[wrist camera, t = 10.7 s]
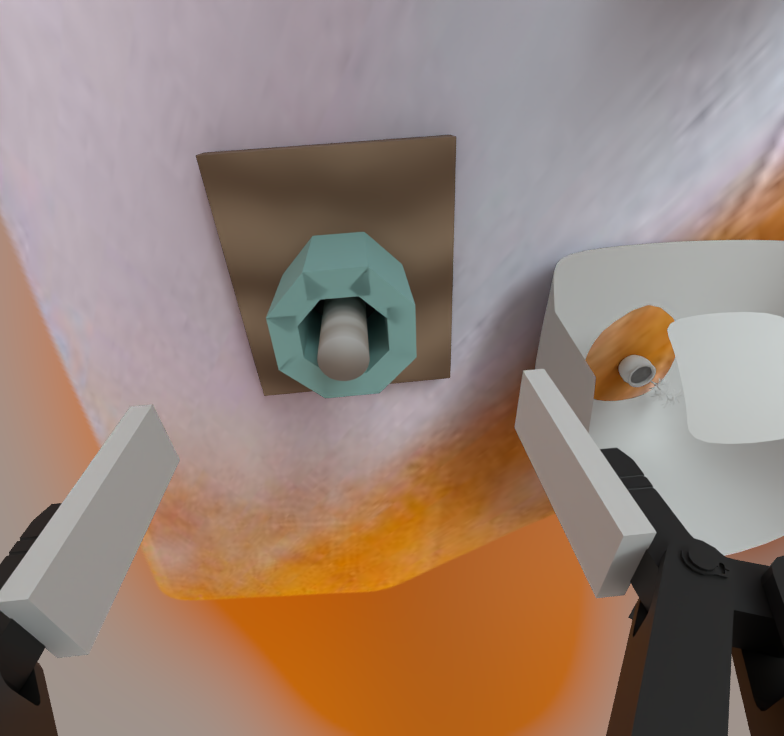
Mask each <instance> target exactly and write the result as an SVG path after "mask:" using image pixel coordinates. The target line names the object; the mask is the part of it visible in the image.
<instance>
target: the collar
mask: <svg viewBox="0 0 784 736" xmlns="http://www.w3.org/2000/svg"><path fill="white" fill-rule="evenodd" d="M356 296H359V297H360V298H361V299H363V300H364V301H365V302H367V303H368V304H369V305H371V306H372V307H373V308H374V309H376V310H375V311H374V312H373V313H372V314H371V315H370V316H369V317H368V318H367V331H368V344H369V357H370V361H369V365H368V368H367V370H366V371H365V372H364V373H363V374H362V375H361V376H360V377H358V378H356V379H353V380H350V381H338V380H334V379H331V378H329V377H328V376H326V375H325V374H324V373H323V372H322V371H321V369H320V368H319V366H318V362H317V355H318V347H319V340H320V332H321V324H322V316H323V315H321V314H320V313H318V312H317V311H316V310H314V309H313V307H314V306H315V305H316V304H317V303H318V301H319V300H321V299H332V298H344V297H356ZM266 320H267V324H268V328H269V332H270V336H271V340H272V344H273V349H274V353H275V357H276V361H277V365H278V369H279V370H280V371H281V372H283V373H285V374H286V375H288V376H290V377H291V378H293V379H294V380H296V381H298V382H299V383H301V384H303V385H304V386H306V387H308V388H309V389H311V390H313V391H314V392H316V393H317V394H319V395H321V396H322V397H324V398H334V397H345V396H355V395H366V394H376V393H380V392H381V391H382V390H383V389H384V388H385V387H386V386H387V385H388V384H390V383H391V382H392V381H393V380H394V379H395V378H396V377H397V376H398V375H399V374H400V373H401V372H402V371H403V370H404V369H405V368H406V367H407V366H408V365H409V364H410V363H411V362H412V361H413V360H414V359H415V358H416V357H417V353H416V314H415V302H414V299H413V296H412V293H411V290H410V287H409V284H408V281H407V278H406V274H405V271H404V268H403V265H402V264H401V263H400V262H399V261H398V260H397V259H396V258H394V257H393V256H392V255H391V254H390V253H389V252H387V251H386V250H385V249H384V248H383V247H382V246H380V245H379V244H378V243H377V242H376V241H375V240H373V239H372V238H371V237H370V236H369V235H368V234H366V233H365V232H354V233H341V234H329V235H316V236H312V237H311V239H310V240H309V241H308V242H307V244H306V245H305V246H304V248H303V249H302V250H301V251H300V253H299V254H298V255H297V257H296V258H295V259H294V261H293V262H292V263H291V264H290V266H289V267H288V268H287V270H286V271H285V272H284V274H283V275H282V278H281V280H280V283H279V286H278V288H277V291H276V293H275V296H274V298H273V301H272V304H271V306H270V309H269V311H268V314H267V316H266Z"/></svg>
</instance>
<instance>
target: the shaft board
mask: <svg viewBox="0 0 784 736" xmlns="http://www.w3.org/2000/svg"><path fill="white" fill-rule="evenodd" d="M196 158H197V162H198V165H199V169H200V172H201V176H202V179H203V183H204V186H205V190H206V193H207V197H208V200H209V204H210V207H211V211H212V214H213V218H214V221H215V225H216V228H217V232H218V235H219V239H220V242H221V246H222V249H223V253H224V256H225V260H226V263H227V267H228V270H229V274H230V277H231V281H232V284H233V288H234V291H235V295H236V298H237V302H238V305H239V309H240V312H241V316H242V319H243V323H244V326H245V330H246V333H247V337H248V340H249V344H250V347H251V351H252V354H253V358H254V361H255V365H256V368H257V372H258V375H259V379H260V382H261V386H262V389H263V393H264V396H268V395H278V394H288V393H299V392H309V391H313V390H311V389H309V388H308V387H306V386H304V385H303V384H301V383H299V382H298V381H296V380H294V379H293V378H291V377H290V376H288V375H286V374H285V373H283V372H281V371H280V370H279V369H278V365H277V361H276V357H275V353H274V349H273V344H272V340H271V336H270V332H269V328H268V324H267V320H266V316H267V314H268V311H269V309H270V306H271V304H272V301H273V298H274V296H275V293H276V291H277V288H278V286H279V283H280V280H281V278H282V275H283V274H284V272H285V271H286V270H287V268H288V267H289V266H290V264H291V263H292V262H293V261H294V259H295V258H296V257H297V255H298V254H299V253H300V251H301V250H302V249H303V248H304V246H305V245H306V244H307V242H308V241H309V240H310V239H311V237H312V236H316V235H329V234H341V233H354V232H365V233H366V234H368V235H369V236H370V237H371V238H372V239H373V240H375V241H376V242H377V243H378V244H379V245H380V246H382V247H383V248H384V249H385V250H386V251H387V252H389V253H390V254H391V255H392V256H393V257H394V258H396V259H397V260H398V261H399V262H400V263H401V264H402V265H403V268H404V271H405V274H406V278H407V281H408V284H409V287H410V290H411V293H412V296H413V299H414V302H415V314H416V353H417V357H416V358H415V359H414V360H413V361H412V362H411V363H410V364H409V365H408V366H407V367H406V368H405V369H404V370H403V371H402V372H401V373H400V374H399V375H398V376H397V377H396V378H395V379H394V380H393V381H392V382H391V383H390V384H392V383H402V382H413V381H423V380H433V379H444V378H450V367H451V327H452V287H453V247H454V207H455V167H456V136H453V135H441V136H427V137H413V138H400V139H386V140H372V141H358V142H344V143H331V144H317V145H303V146H289V147H275V148H262V149H248V150H234V151H220V152H207V153H202V154H199V155H196ZM313 309H314V310H316V311H317V312H318V313H320V314H321V315H323V316H322V324H321V332H320V340H319V347H318V355H317V362H318V366H319V368H320V369H321V371H322V372H323V373H324V374H325V375H326V376H328V377H329V378H331V379H334V380H338V381H350V380H353V379H356V378H358V377H360V376H361V375H362V374H363V373H364V372H365V371H366V370H367V368H368V365H369V361H370V357H369V344H368V331H367V318H368V317H369V316H370V315H371V314H372V313H373V312H374V311H375V310H376V309H374V308H373V307H372V306H371V305H369V304H368V303H367V302H365V301H364V300H363V299H361V298H360V297H359V296H356V297H344V298H332V299H321V300H319V301H318V303H317V304H316V305H315V306H314V307H313Z"/></svg>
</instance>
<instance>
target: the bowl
mask: <svg viewBox="0 0 784 736" xmlns="http://www.w3.org/2000/svg"><path fill="white" fill-rule="evenodd" d="M646 305H652V306H656V307H660V308H662V309H663V310H665V311H666V312H667V313H668V314H669V315H671V316H672V317H673V319H674V320H675V322H673V323H671V324H670V326H669V327H668V329H667V330H668V336H669V339H670V341H671V344H672V347H673V350H674V353H675V356H676V357H675V360H674V362H673V364H672V366H671V368H670V370H669V371H668V373H667V374H666V376H665V377H664V379H663V380H662V381H661V382H660V378H659V383H658V385H656V384H657V383H654V382H652V381H651V380H652V379H653V378H654V376H655V374H656V369H655V367H654V366H653V365H652V364H651V362H650V361H649V360H647V359H646V358H644V357H642V356H639V355H631V356H628V357H626V358H625V359H623V360H622V361H621V363H620V364H619V373H620V375H621V377H622V378H623V380H624V381H625V382H627V383H629V385H631V386H633V387H641V386H644V385H646V384H647V383H649V382H650V381H651V382H652V383H654V385H655V387H653V388H649V389H652V390H651V391H649V392H647V393H645V394H643V395H641V396H638V397H635V398H631V399H627V400H620V401H601V400H596V399H593V398H594V389H595V380H596V377H595V375H594V374H593V372H592V370H591V369H590V367H589V366H588V364H587V362H586V361H585V359H586V356H587V354H588V352H589V350H590V348H591V346H592V345H593V343H594V341H595V340H596V339H597V337H598V336H599V335H600V334H601V333H602V331H603V330H605V329H606V328H607V327H609V326H610V325H611V324H612V323H613V322H615V321H616V320H618V319H619V318H621V317H623V316H624V315H626V314H627V313H629V312H630V311H632V310H634V309H637V308H640V307H643V306H646ZM535 369H545V371H546V372H547V374H548V375H549V377H550V378H551V380H552V381H553V382H554V384H555V385H556V387H557V388H558V390H559V391H560V393H561V394H562V396H563V397H564V398H565V400H566V401H567V403H568V404H569V406H570V407H571V409H572V410H573V411H574V413H575V414H576V416H577V417H578V419H579V420H580V422H581V423H582V425H583V426H584V427H585V429H586V430H587V432H588V433H589V435H590V436H591V438H592V439H593V441H594V442H595V443H596V445H597V446H598V448H599V449H606V448H618V449H620V450H621V451H622V452H624V453H625V454H626V455H628V456H629V457H630V458H632V459H633V460H634V461H635V463H636V464H637V465H638V467H639V468H640V469H641V471H642V472H643V473H644V476H645V477H647V478H648V480H649V481H650V482H651V484H652V485H653V488H654V489H656V490H657V492H658V493H659V494H660V496H661V497H662V498H663V500H664V501H665V502H666V503H667V505H668V506H669V507H670V509H671V510H672V511H673V513H674V514H675V515H676V517H677V518H678V519H679V521H680V522H681V523H682V525H683V526H684V527H685V528H686V530H687V531H688V532H689V533H690V535H691V536H692V537H693V538H695V539H698V540H702V541H704V542H706V543H707V544H709V545H711V546H713V547H715V548H716V549H717V550H718V551H719V552H720V553H722V554H723V555H724V556H725V555H729V554H733V553H737V552H741V551H744V550H747V549H750V548H753V547H756V546H759V545H762V544H765V543H768V542H770V541H772V540H775V539H777V538H780V537H782V536H784V241H775V240H712V241H685V242H665V243H650V244H637V245H626V246H616V247H608V248H600V249H593V250H587V251H582V252H578V253H574V254H570V255H568V256H566V257H564V258H562V259H561V260H560V261H559V262H558V263H557V264H556V267H555V270H554V274H553V279H552V284H551V289H550V293H549V298H548V303H547V308H546V312H545V317H544V321H543V326H542V331H541V336H540V341H539V347H538V352H537V358H536V365H535Z"/></svg>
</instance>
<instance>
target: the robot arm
mask: <svg viewBox="0 0 784 736" xmlns="http://www.w3.org/2000/svg"><path fill="white" fill-rule="evenodd" d="M515 430H516V432H517V434H518V436H519V438H520V440H521V442H522V444H523V446H524V448H525V451H526V453H527V455H528V457H529V459H530V461H531V463H532V465H533V467H534V469H535V471H536V473H537V476H538V478H539V480H540V482H541V484H542V486H543V488H544V490H545V492H546V494H547V496H548V499H549V501H550V503H551V505H552V507H553V509H554V511H555V513H556V515H557V517H558V519H559V521H560V524H561V526H562V528H563V530H564V532H565V534H566V536H567V538H568V540H569V542H570V544H571V546H572V549H573V550H574V553H575V555H576V557H577V558H578V561H579V563H580V565H581V567H582V569H583V572H584V574H585V576H586V578H587V580H588V582H589V584H590V586H591V588H592V590H593V592H594V594H595V596H596V598H603V597H610V596H611V597H612V596H620V595H625V593H626V591H627V589H628V587H629V586H630V584H632V586H633V588H634V589H635V591H636V593H637V594H638V596H639V599H638V601H637V603H636V605H635V606H634V608H633V610H632V612H631V614H630V615H629V618H631V619H632V625H631V629H630V634H629V638H628V642H627V646H626V651H625V655H624V660H623V664H622V668H621V673H620V677H619V681H618V686H617V690H616V695H615V699H614V703H613V708H612V712H611V717H610V721H609V725H608V730H607V734H606V736H728V718H729V697H730V675H731V654H732V657H733V662H734V666H735V670H736V674H737V679H738V683H739V687H740V691H741V695H742V700H743V704H744V708H745V713H746V717H747V721H748V726H749V730H750V734H751V736H784V556H781V557H777V558H776V559H775V560H774V562H773V563H772V564H771V565H770V566H766V565H761V564H755V563H750V562H745V561H739V560H734V559H731V558H727V557H725V556H724V555H723V554H722V553H720V552H719V551H718V550H717V549H716V548H715V547H713V546H711V545H709V544H707V543H706V542H704V541H702V540H698V539H695V538H693V537H692V536H691V535H690V533H689V532H688V531H687V530H686V528H685V527H684V526H683V525H682V523H681V522H680V521H679V519H678V518H677V517H676V515H675V514H674V513H673V511H672V510H671V509H670V507H669V506H668V505H667V503H666V502H665V501H664V500H663V498H662V497H661V496H660V494H659V493H658V492H657V490H656V489H654V488H653V485H652V484H651V482H650V481H649V480H648V478H647V477H645V476H644V473H643V472H642V471H641V469H640V468H639V467H638V465H637V464H636V463H635V461H634V460H633V459H632V458H630V457H629V456H628V455H626V454H625V453H624V452H622V451H621V450H620V449H618V448H606V449H599V448H598V446H597V445H596V443H595V442H594V441H593V439H592V438H591V436H590V435H589V433H588V432H587V430H586V429H585V427H584V426H583V425H582V423H581V422H580V420H579V419H578V417H577V416H576V414H575V413H574V411H573V410H572V409H571V407H570V406H569V404H568V403H567V401H566V400H565V398H564V397H563V396H562V394H561V393H560V391H559V390H558V388H557V387H556V385H555V384H554V382H553V381H552V380H551V378H550V377H549V375H548V374H547V372H546V371H545V369H535V370H524V371H523V374H522V381H521V388H520V394H519V401H518V408H517V414H516V421H515ZM179 461H180V459H179V457H178V455H177V453H176V451H175V449H174V447H173V445H172V443H171V441H170V439H169V437H168V435H167V432H166V430H165V428H164V426H163V424H162V422H161V420H160V418H159V416H158V414H157V412H156V410H155V408H154V406H153V405H142V406H131V407H130V408H129V409H128V411H127V412H126V413H125V415H124V416H123V418H122V419H121V420H120V422H119V423H118V425H117V426H116V428H115V429H114V430H113V432H112V433H111V435H110V436H109V437H108V439H107V440H106V442H105V443H104V444H103V446H102V447H101V449H100V450H99V452H98V453H97V455H96V456H95V457H94V459H93V460H92V461H91V463H90V464H89V466H88V467H87V469H86V470H85V472H84V473H83V474H82V476H81V477H80V479H79V480H78V481H77V483H76V484H75V486H74V487H73V488H72V490H71V491H70V493H69V494H68V495H67V497H66V499H65V500H64V501H63V503H59V504H51V505H50V506H49V507H48V508H47V509H46V510H44V511H43V512H42V513H41V514H40V515H39V516H37V517H36V518H35V519H34V520H33V521H32V522H31V524H30V525H29V526H28V528H27V529H26V531H25V532H24V533H23V534H22V536H21V537H20V541H17V542H16V544H15V545H14V547H13V548H12V549H11V551H10V552H9V556H6V557H5V559H4V560H3V561H2V563H1V564H0V736H58V734H57V729H56V725H55V720H54V716H53V712H52V707H51V703H50V699H49V694H48V690H47V685H46V681H45V676H44V673H43V669H42V667H41V666H40V664H39V663H38V662H37V661H38V660H39V658H40V656H41V654H42V652H43V651H44V648H46V649H47V650H48V651H50V652H51V653H52V654H53V655H54V656H56V657H57V658H62V657H71V656H80V655H88V654H89V652H90V650H91V648H92V645H93V644H94V641H95V639H96V637H97V635H98V633H99V631H100V629H101V627H102V624H103V622H104V620H105V618H106V616H107V614H108V612H109V610H110V607H111V605H112V603H113V601H114V599H115V597H116V595H117V593H118V591H119V588H120V586H121V584H122V582H123V580H124V578H125V576H126V573H127V571H128V569H129V567H130V565H131V563H132V561H133V559H134V557H135V554H136V552H137V550H138V548H139V546H140V544H141V542H142V540H143V537H144V535H145V533H146V531H147V529H148V527H149V525H150V523H151V520H152V518H153V516H154V514H155V512H156V510H157V508H158V506H159V503H160V501H161V499H162V497H163V495H164V493H165V491H166V488H167V486H168V484H169V482H170V480H171V478H172V476H173V474H174V471H175V469H176V467H177V465H178V463H179Z"/></svg>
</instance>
